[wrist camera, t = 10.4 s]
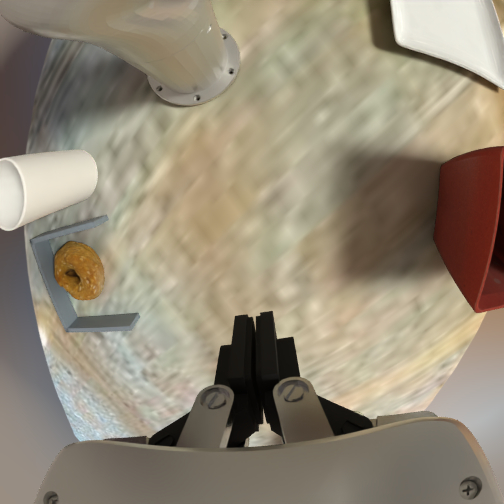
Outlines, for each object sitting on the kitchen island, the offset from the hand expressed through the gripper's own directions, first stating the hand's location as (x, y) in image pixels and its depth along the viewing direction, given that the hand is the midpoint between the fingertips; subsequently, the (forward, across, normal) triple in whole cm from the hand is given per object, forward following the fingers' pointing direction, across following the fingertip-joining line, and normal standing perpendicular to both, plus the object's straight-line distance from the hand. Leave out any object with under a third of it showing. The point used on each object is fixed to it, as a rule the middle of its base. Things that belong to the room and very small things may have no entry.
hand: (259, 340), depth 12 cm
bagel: (+28, +30, +4) cm, 41 cm away
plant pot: (+27, -34, +3) cm, 44 cm away
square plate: (+28, -38, -33) cm, 57 cm away
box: (+27, +29, +5) cm, 40 cm away
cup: (+27, +26, -11) cm, 39 cm away
